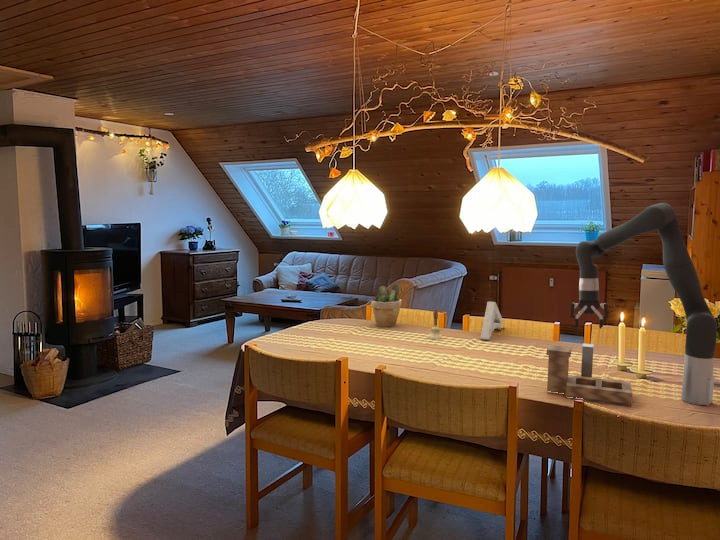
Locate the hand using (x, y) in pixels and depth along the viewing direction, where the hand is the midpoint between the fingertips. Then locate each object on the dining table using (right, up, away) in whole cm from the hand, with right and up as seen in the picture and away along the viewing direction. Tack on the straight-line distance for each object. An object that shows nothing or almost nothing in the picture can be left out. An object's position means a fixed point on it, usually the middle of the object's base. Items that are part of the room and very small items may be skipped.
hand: (589, 328), depth 231 cm
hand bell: (-55, -13, +71) cm, 91 cm away
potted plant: (-80, -9, +102) cm, 130 cm away
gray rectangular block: (-4, -22, -8) cm, 24 cm away
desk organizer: (-9, -23, -21) cm, 33 cm away
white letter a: (-21, -12, +81) cm, 84 cm away
